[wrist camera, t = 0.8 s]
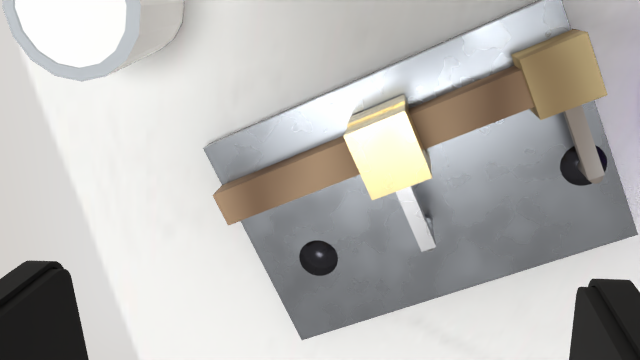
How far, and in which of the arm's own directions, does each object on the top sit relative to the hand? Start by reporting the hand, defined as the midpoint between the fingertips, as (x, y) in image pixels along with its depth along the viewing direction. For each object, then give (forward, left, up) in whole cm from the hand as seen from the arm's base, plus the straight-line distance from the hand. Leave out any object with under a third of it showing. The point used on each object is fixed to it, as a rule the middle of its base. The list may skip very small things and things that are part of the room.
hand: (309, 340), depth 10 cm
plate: (0, +5, -23) cm, 24 cm away
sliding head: (0, +4, -22) cm, 22 cm away
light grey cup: (+10, -11, -24) cm, 28 cm away
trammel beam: (0, +4, -22) cm, 23 cm away
